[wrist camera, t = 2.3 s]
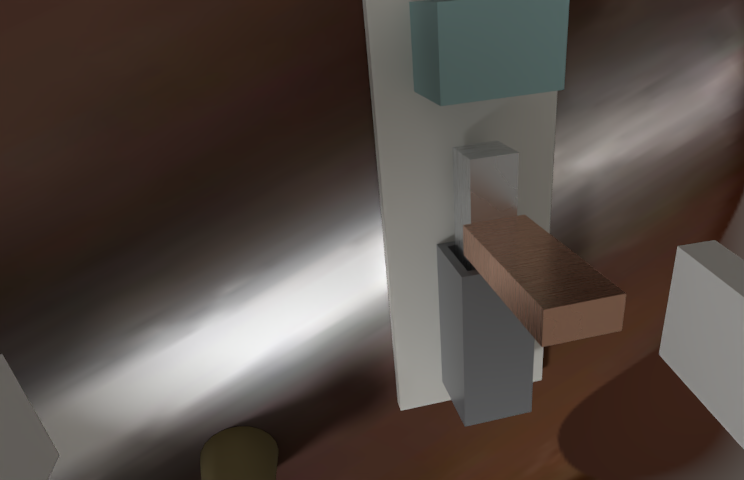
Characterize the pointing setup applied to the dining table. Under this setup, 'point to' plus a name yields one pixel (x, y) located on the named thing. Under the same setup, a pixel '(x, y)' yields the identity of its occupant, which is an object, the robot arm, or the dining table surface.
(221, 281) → the dining table surface
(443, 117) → the base board
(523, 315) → the inner bar
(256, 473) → the cork
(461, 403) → the outer sleeve
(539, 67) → the socket block
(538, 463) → the dining table surface
